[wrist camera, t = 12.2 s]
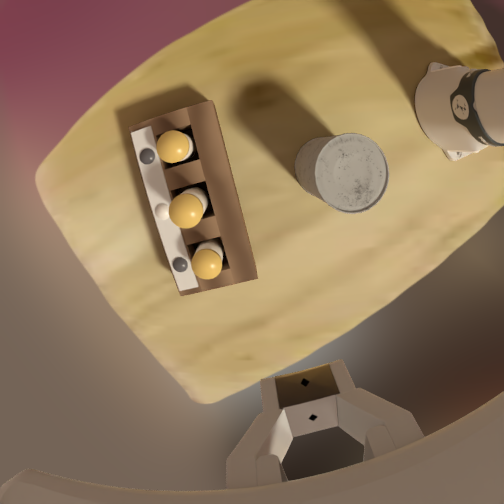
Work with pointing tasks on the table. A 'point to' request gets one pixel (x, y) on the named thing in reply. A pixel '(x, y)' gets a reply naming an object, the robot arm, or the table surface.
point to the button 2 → (208, 258)
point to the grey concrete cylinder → (343, 171)
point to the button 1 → (175, 146)
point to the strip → (163, 207)
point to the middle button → (188, 207)
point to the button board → (219, 187)
